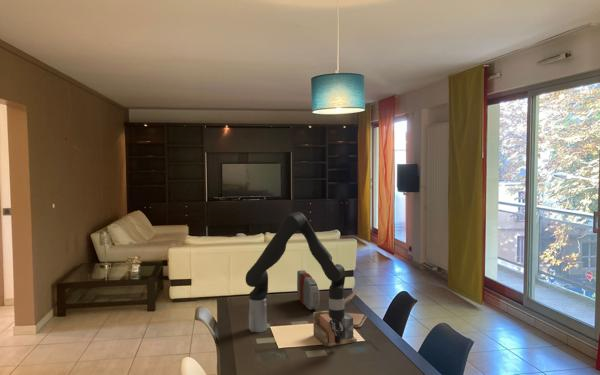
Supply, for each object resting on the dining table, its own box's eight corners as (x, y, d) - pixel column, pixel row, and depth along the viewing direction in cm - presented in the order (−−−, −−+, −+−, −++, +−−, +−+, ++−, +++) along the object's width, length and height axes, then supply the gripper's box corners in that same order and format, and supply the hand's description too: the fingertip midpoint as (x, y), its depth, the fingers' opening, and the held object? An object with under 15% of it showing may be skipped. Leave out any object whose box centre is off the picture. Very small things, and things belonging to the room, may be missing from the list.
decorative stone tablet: (296, 269, 294) (310, 285, 266) (305, 268, 296) (321, 284, 268) (295, 298, 297) (310, 316, 269) (305, 297, 299) (320, 315, 271)
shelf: (325, 346, 219) (324, 322, 218) (313, 335, 234) (313, 312, 234) (356, 341, 225) (356, 318, 224) (343, 330, 240) (343, 308, 239)
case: (333, 313, 269) (332, 287, 268) (368, 316, 262) (367, 289, 261) (323, 325, 250) (322, 297, 249) (360, 329, 242) (360, 300, 241)
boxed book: (328, 342, 221) (328, 322, 220) (320, 333, 232) (319, 314, 231) (336, 341, 222) (336, 321, 221) (327, 332, 233) (327, 313, 233)
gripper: (349, 310, 210) (350, 346, 210) (338, 302, 222) (338, 337, 223) (334, 312, 207) (335, 349, 208) (324, 304, 220) (324, 339, 220)
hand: (337, 342), depth 215 cm, fingers closed
